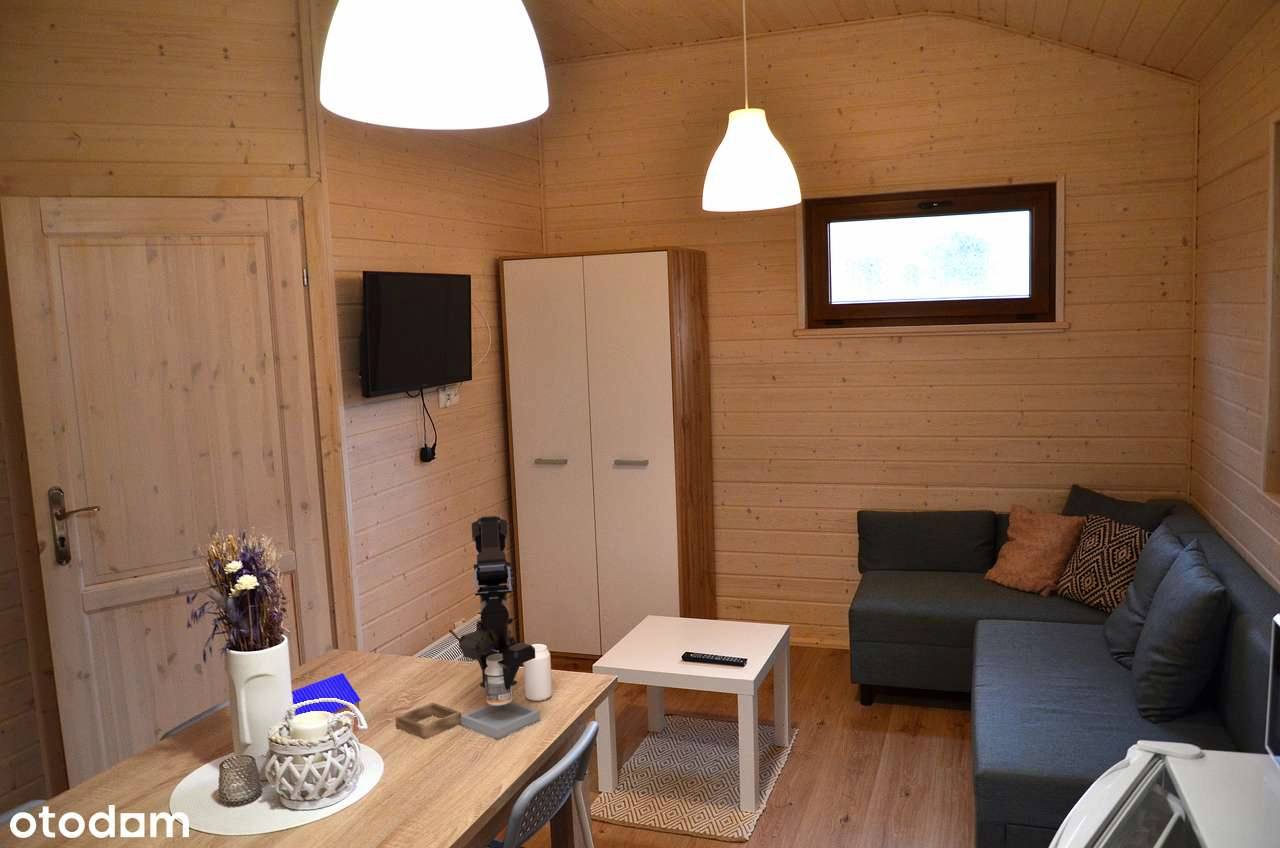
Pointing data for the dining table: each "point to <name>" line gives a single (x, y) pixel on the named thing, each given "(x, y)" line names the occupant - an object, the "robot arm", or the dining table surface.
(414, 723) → the socket collar
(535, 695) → the beverage can
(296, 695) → the blue ribbed roof
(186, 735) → the dining table surface
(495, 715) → the tray
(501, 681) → the pill bottle
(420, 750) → the dining table surface
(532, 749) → the dining table surface
